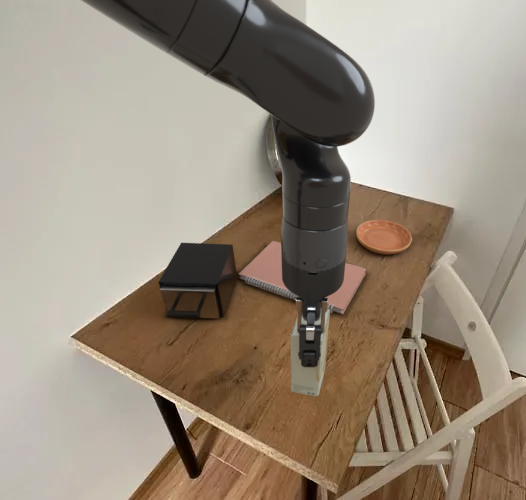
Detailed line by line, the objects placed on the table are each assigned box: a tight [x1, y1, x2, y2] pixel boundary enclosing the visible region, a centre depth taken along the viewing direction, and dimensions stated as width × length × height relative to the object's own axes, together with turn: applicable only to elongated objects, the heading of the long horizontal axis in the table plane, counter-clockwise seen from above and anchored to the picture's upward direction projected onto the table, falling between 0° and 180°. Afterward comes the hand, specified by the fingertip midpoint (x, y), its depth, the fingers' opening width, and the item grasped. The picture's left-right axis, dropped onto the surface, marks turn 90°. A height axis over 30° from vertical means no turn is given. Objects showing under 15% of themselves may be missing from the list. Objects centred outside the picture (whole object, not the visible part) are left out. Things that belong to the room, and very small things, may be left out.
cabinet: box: [157, 242, 238, 318], centre depth 78 cm, size 14×12×10 cm
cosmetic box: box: [290, 309, 331, 397], centre depth 51 cm, size 6×4×12 cm
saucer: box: [355, 219, 413, 256], centre depth 102 cm, size 16×16×3 cm
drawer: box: [159, 285, 221, 319], centre depth 75 cm, size 17×10×8 cm, turn 1°
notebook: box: [238, 240, 367, 315], centre depth 87 cm, size 27×17×2 cm, turn 67°
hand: (310, 342), depth 50 cm, fingers closed on cosmetic box, 6 cm apart
